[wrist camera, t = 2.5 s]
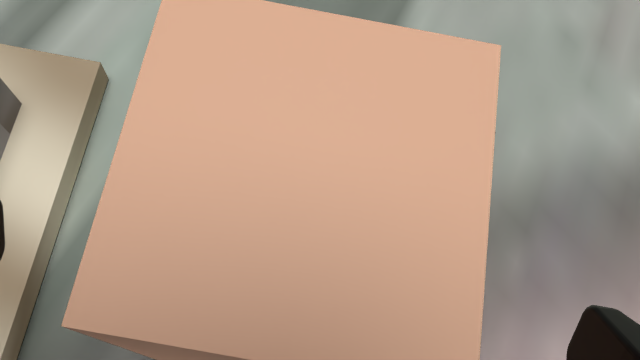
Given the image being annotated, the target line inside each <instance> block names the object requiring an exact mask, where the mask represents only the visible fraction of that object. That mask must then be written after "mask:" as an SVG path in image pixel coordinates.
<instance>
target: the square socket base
mask: <svg viewBox="0 0 640 360" xmlns="http://www.w3.org/2000/svg"><path fill="white" fill-rule="evenodd" d="M107 82H108V77H107V75H106V73H105V71H104V69H103V67H102V65H101V63H100V62H95V61H90V60H84V59H79V58H74V57H68V56H63V55H58V54H52V53H47V52H41V51H36V50H31V49H25V48H20V47H14V46H9V45H4V44H0V200H1V202H2V205H3V214H4V231H5V250H4V253H3V256H2V259H1V260H0V360H17V357H18V354H19V350H20V347H21V344H22V341H23V338H24V335H25V332H26V329H27V326H28V323H29V320H30V317H31V314H32V311H33V308H34V305H35V302H36V299H37V296H38V293H39V289H40V286H41V283H42V280H43V277H44V274H45V271H46V268H47V265H48V262H49V259H50V256H51V253H52V250H53V247H54V244H55V241H56V238H57V235H58V231H59V228H60V225H61V222H62V219H63V216H64V213H65V210H66V207H67V204H68V201H69V198H70V195H71V192H72V189H73V186H74V183H75V180H76V177H77V174H78V170H79V167H80V164H81V161H82V158H83V155H84V152H85V149H86V146H87V143H88V140H89V137H90V134H91V131H92V128H93V125H94V122H95V119H96V116H97V113H98V109H99V106H100V103H101V100H102V97H103V94H104V91H105V88H106V85H107Z"/></svg>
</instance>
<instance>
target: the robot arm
mask: <svg viewBox="0 0 640 360" xmlns="http://www.w3.org/2000/svg"><path fill="white" fill-rule="evenodd" d="M4 250H5V231H4V214H3V205H2V202H1V200H0V260H1V259H2V256H3V253H4ZM567 360H640V325H639V324H638V323H636V322H635V321H633V320H632V319H630V318H629V317H628V316H626V315H625V314H623V313H622V312H620V311H619V310H616V309H613V308H608V307H602V306H597V305H591V306H589V307H587V308H586V309H585V311H584V312H583V314H582V316H581V319H580V321H579V323H578V325H577V327H576V330H575V332H574V334H573V336H572V339H571V341H570V343H569V346H568V349H567Z"/></svg>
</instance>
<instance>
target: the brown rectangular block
mask: <svg viewBox="0 0 640 360" xmlns="http://www.w3.org/2000/svg"><path fill="white" fill-rule="evenodd" d="M500 52H501V45H496V44H491V43H485V42H480V41H475V40H470V39H464V38H459V37H454V36H448V35H443V34H438V33H433V32H427V31H422V30H417V29H411V28H406V27H401V26H396V25H390V24H385V23H380V22H374V21H369V20H364V19H359V18H353V17H348V16H343V15H337V14H332V13H327V12H321V11H316V10H311V9H306V8H300V7H295V6H290V5H284V4H279V3H274V2H269V1H263V0H162V1H161V5H160V8H159V11H158V14H157V18H156V21H155V24H154V27H153V31H152V34H151V37H150V40H149V43H148V47H147V50H146V53H145V56H144V60H143V63H142V66H141V69H140V73H139V76H138V79H137V82H136V86H135V89H134V92H133V95H132V98H131V102H130V105H129V108H128V111H127V115H126V118H125V121H124V124H123V128H122V131H121V134H120V137H119V141H118V144H117V147H116V150H115V153H114V157H113V160H112V163H111V166H110V170H109V173H108V176H107V179H106V183H105V186H104V189H103V192H102V196H101V199H100V202H99V205H98V208H97V212H96V215H95V218H94V221H93V225H92V228H91V231H90V234H89V238H88V241H87V244H86V247H85V251H84V254H83V257H82V260H81V264H80V267H79V270H78V273H77V276H76V280H75V283H74V286H73V289H72V293H71V296H70V299H69V302H68V306H67V309H66V312H65V315H64V319H63V322H62V325H61V326H62V327H65V328H68V329H70V330H73V331H76V332H79V333H82V334H85V335H87V336H90V337H93V338H96V339H99V340H102V341H105V342H107V343H110V344H113V345H116V346H119V347H122V348H124V349H127V350H130V351H133V352H136V353H139V354H142V355H144V356H147V357H150V358H153V359H156V360H479V359H480V344H481V330H482V315H483V300H484V286H485V271H486V257H487V242H488V227H489V213H490V198H491V184H492V169H493V155H494V140H495V125H496V111H497V96H498V82H499V67H500Z"/></svg>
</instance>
